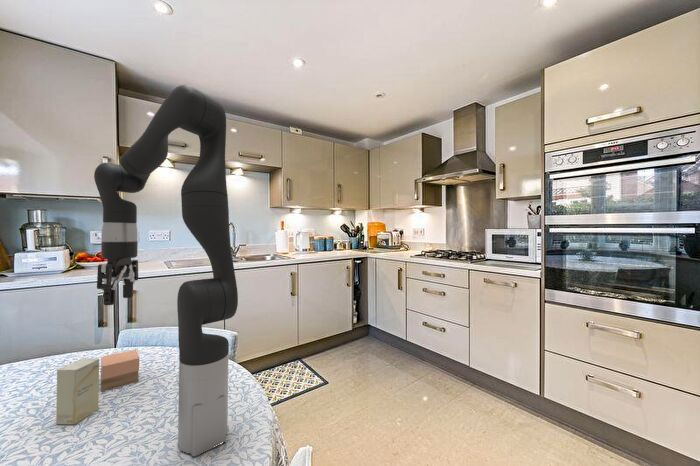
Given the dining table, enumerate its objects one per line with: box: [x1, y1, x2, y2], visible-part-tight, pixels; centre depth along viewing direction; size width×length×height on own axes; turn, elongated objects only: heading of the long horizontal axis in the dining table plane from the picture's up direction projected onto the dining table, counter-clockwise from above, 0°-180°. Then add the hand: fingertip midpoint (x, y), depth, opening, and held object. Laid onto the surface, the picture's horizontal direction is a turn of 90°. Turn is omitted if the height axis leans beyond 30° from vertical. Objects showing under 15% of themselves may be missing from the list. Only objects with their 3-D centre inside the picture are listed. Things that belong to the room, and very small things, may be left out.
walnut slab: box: [100, 371, 139, 392], centre depth 82 cm, size 8×8×4 cm
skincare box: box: [55, 357, 100, 425], centre depth 66 cm, size 6×4×12 cm
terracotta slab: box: [100, 349, 140, 380], centre depth 82 cm, size 8×8×4 cm
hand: (119, 301), depth 76 cm, fingers open, 8 cm apart
